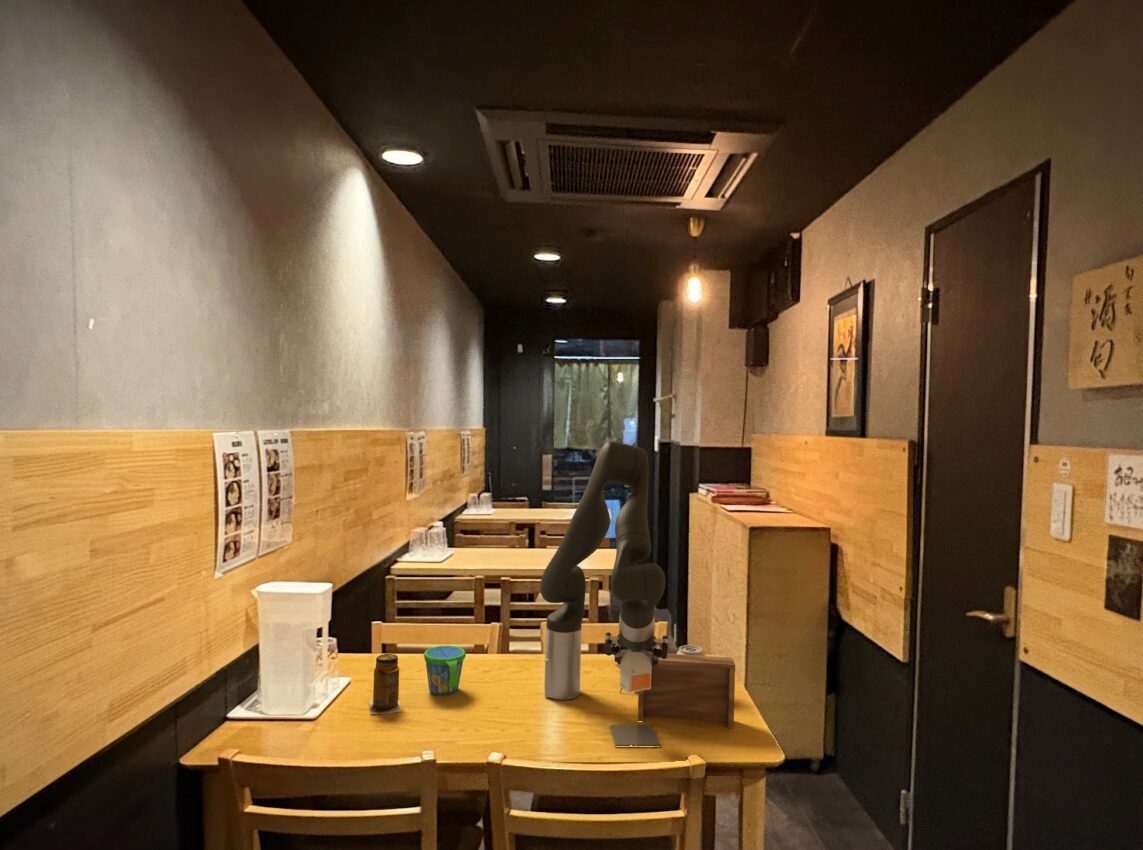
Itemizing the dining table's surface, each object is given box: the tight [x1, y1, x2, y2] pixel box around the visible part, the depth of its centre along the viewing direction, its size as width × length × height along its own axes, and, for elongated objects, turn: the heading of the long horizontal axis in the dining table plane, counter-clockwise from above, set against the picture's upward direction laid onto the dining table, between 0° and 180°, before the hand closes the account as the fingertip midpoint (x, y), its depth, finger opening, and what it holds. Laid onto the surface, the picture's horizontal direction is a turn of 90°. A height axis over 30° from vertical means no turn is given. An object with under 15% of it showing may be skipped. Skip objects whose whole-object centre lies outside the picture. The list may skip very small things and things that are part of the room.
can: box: [676, 644, 706, 656], centre depth 179 cm, size 8×8×12 cm
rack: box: [637, 653, 736, 730], centre depth 162 cm, size 5×22×15 cm, turn 84°
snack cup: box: [423, 645, 466, 696], centre depth 176 cm, size 16×11×10 cm
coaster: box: [609, 723, 661, 747], centre depth 152 cm, size 10×10×1 cm
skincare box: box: [619, 652, 652, 694], centre depth 152 cm, size 6×4×12 cm
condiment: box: [368, 653, 403, 715], centre depth 165 cm, size 7×8×12 cm
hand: (636, 661), depth 154 cm, fingers closed on skincare box, 7 cm apart
